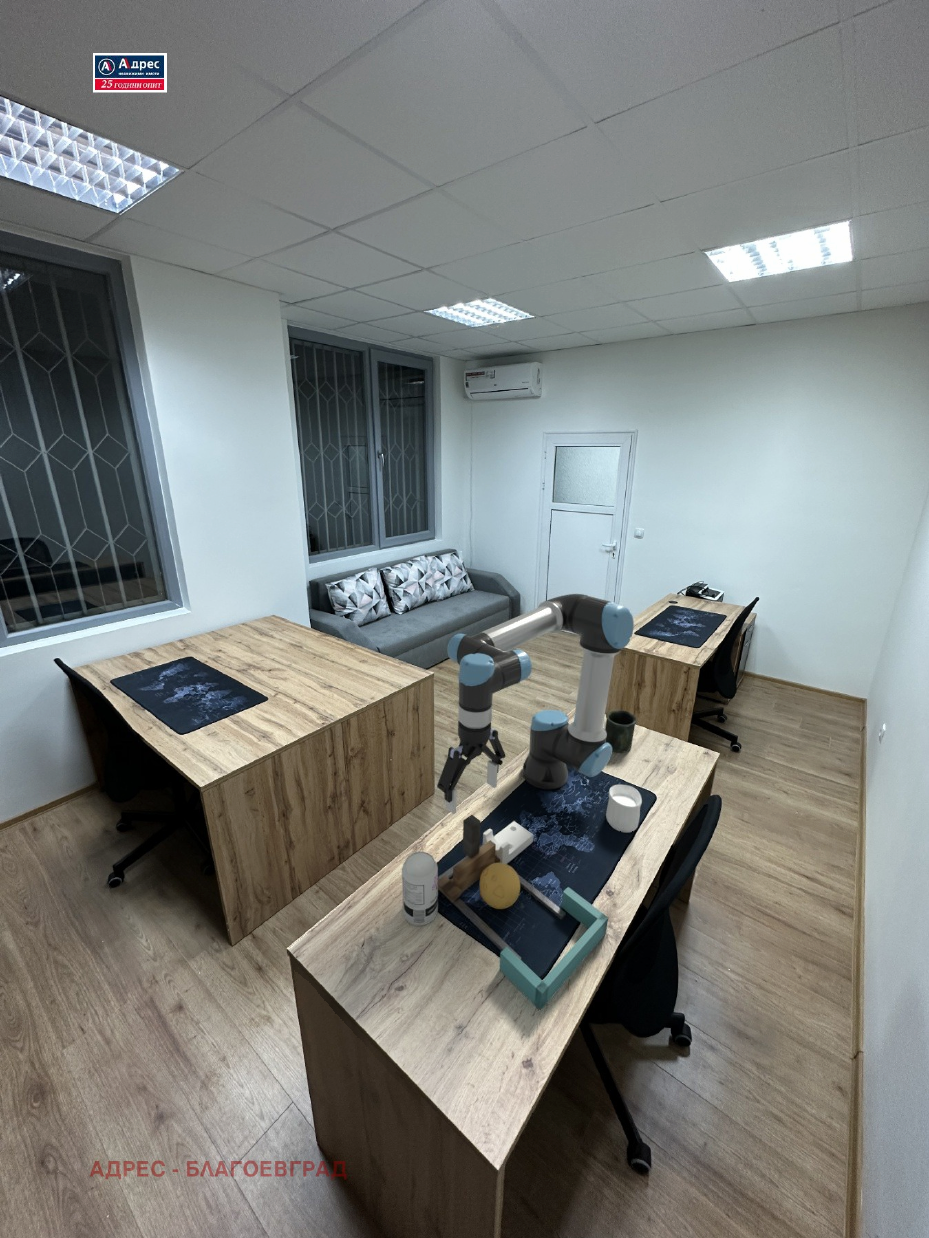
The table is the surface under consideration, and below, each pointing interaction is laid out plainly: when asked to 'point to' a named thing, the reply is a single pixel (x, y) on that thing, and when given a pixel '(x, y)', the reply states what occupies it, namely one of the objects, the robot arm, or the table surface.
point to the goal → (545, 989)
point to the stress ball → (499, 885)
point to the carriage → (469, 861)
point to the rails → (485, 927)
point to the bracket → (509, 841)
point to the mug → (620, 729)
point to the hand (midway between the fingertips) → (472, 797)
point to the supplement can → (420, 888)
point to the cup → (623, 808)
